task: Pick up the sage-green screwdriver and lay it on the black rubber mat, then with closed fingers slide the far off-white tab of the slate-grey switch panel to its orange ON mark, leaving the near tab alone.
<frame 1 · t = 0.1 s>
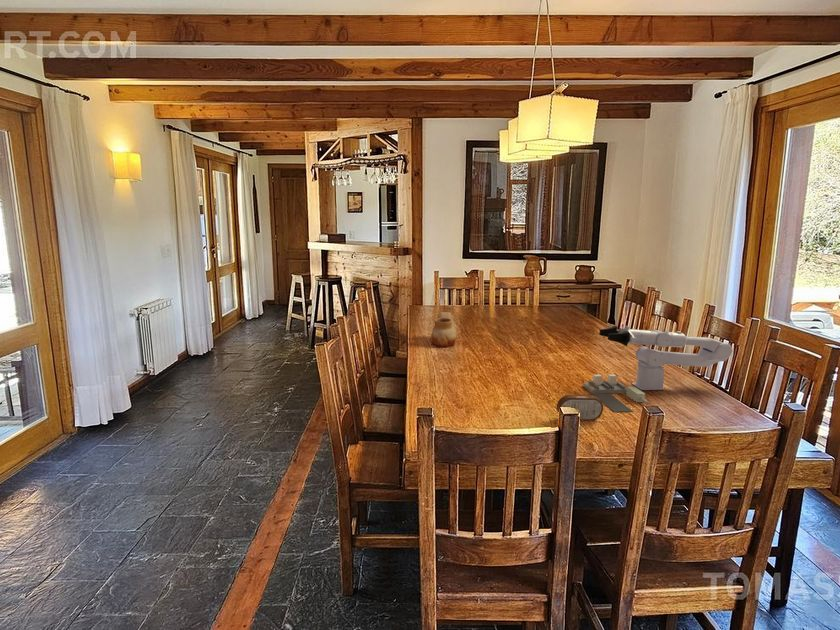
hand: (604, 334, 200), 22 cm above the table, tool horizontal, fingers open, 7 cm apart
tool mat: (611, 402, 188), on the table
tin: (579, 420, 172), on the table
tab far: (597, 379, 203), point 3 cm above the table, slide at 0.0 cm
switch panel: (606, 389, 202), on the table
driver: (635, 399, 193), on the table
tab near: (611, 379, 204), point 3 cm above the table, slide at 0.0 cm
ceramic vessel: (444, 342, 275), on the table
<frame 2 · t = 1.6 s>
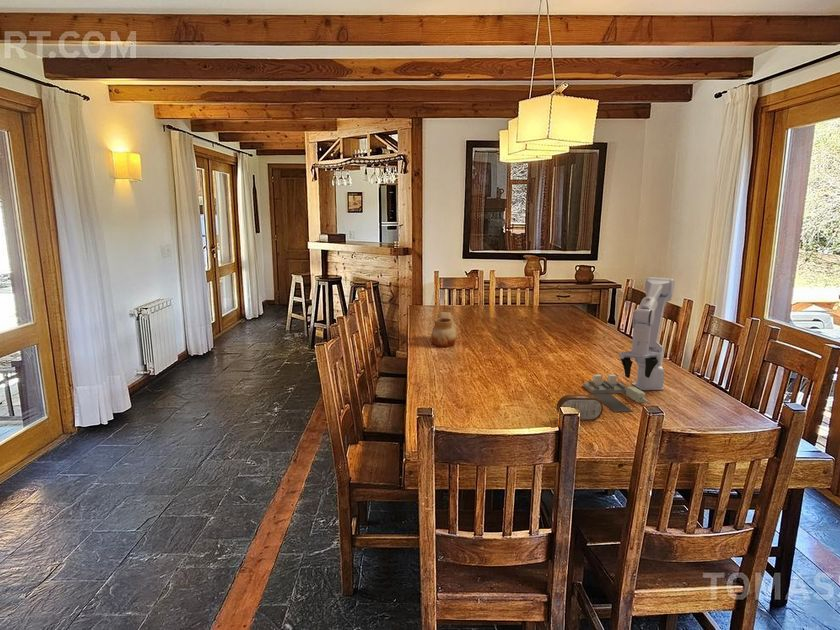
hand: (637, 377, 191), 8 cm above the table, tool pointing down, fingers open, 7 cm apart
nothing on the table moved.
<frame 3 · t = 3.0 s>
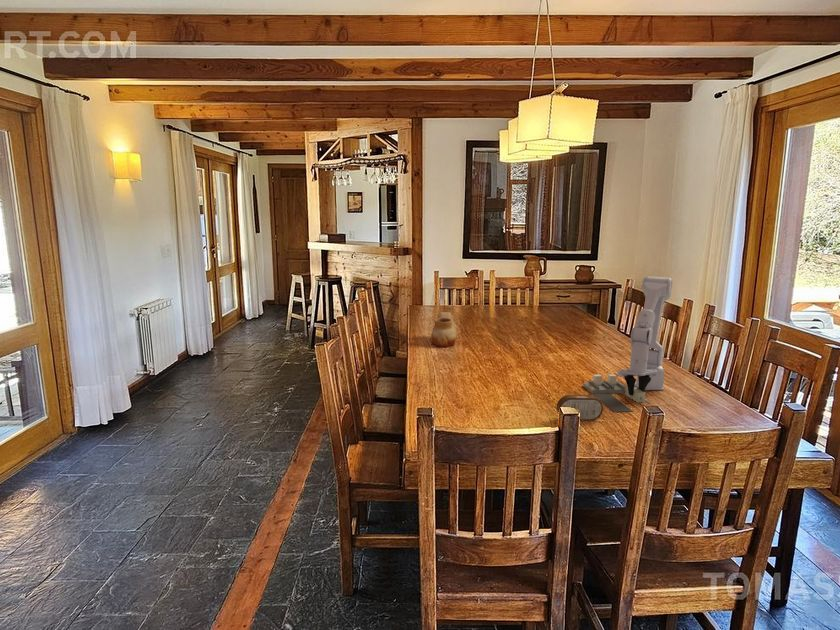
hand: (635, 394, 192), 2 cm above the table, tool pointing down, fingers closed on driver, 3 cm apart
driver: (634, 398, 193), on the table, touching gripper
everything else where it was.
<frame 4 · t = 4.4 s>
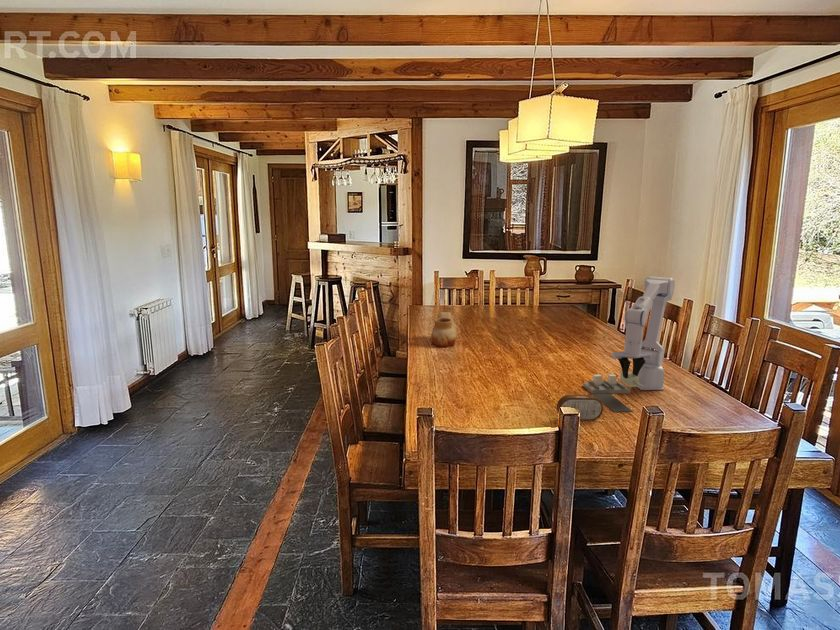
hand: (629, 377, 190), 9 cm above the table, tool pointing down, fingers closed on driver, 3 cm apart
driver: (629, 383, 191), point 6 cm above the table, touching gripper
everything else where it was.
when the fingers open (3 cm above the table, at t = 6.2 s): driver stays where it is, resting on tool mat.
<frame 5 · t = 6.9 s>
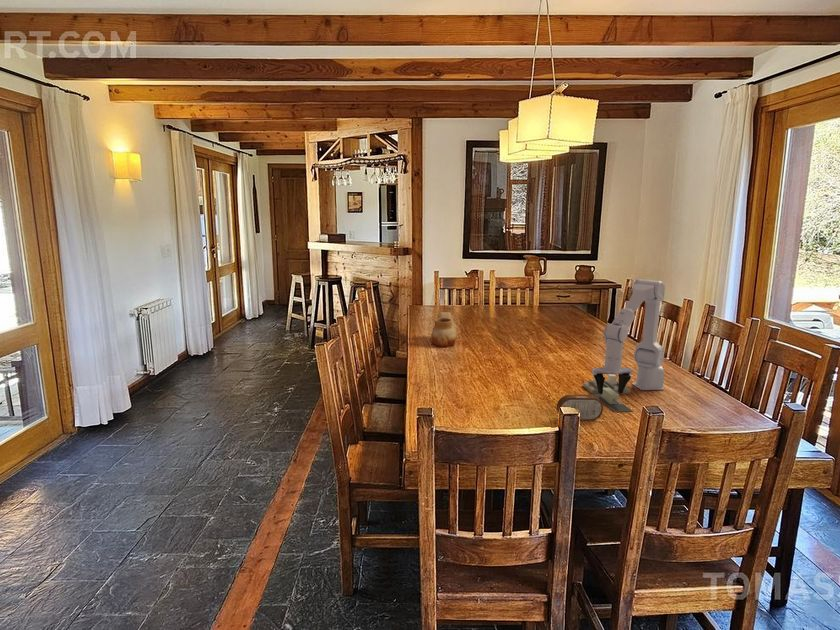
hand: (610, 393, 189), 3 cm above the table, tool pointing down, fingers open, 7 cm apart
driver: (609, 400, 190), resting on tool mat
everything else where it was.
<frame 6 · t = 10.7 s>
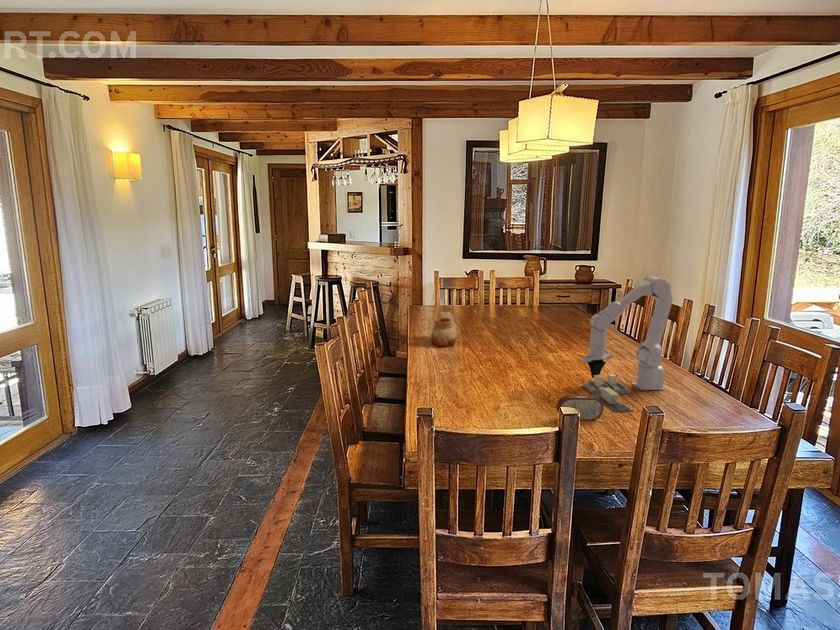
hand: (594, 378, 206), 3 cm above the table, tool pointing down, fingers closed
tab far: (597, 380, 203), point 3 cm above the table, slide at 0.7 cm, touching gripper
everything else where it was.
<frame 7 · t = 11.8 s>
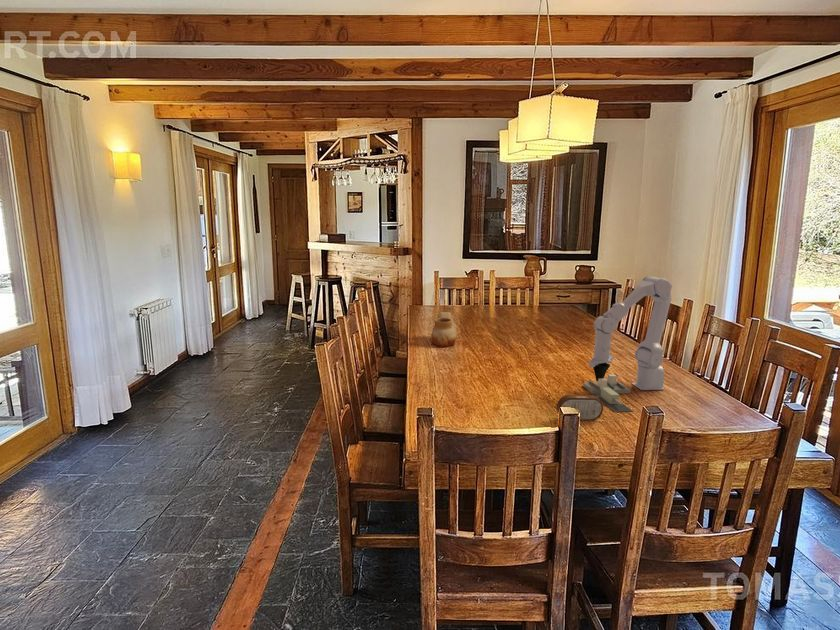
hand: (599, 381, 201), 3 cm above the table, tool pointing down, fingers closed
tab far: (602, 383, 199), point 3 cm above the table, slide at 4.9 cm, touching gripper
everything else where it was.
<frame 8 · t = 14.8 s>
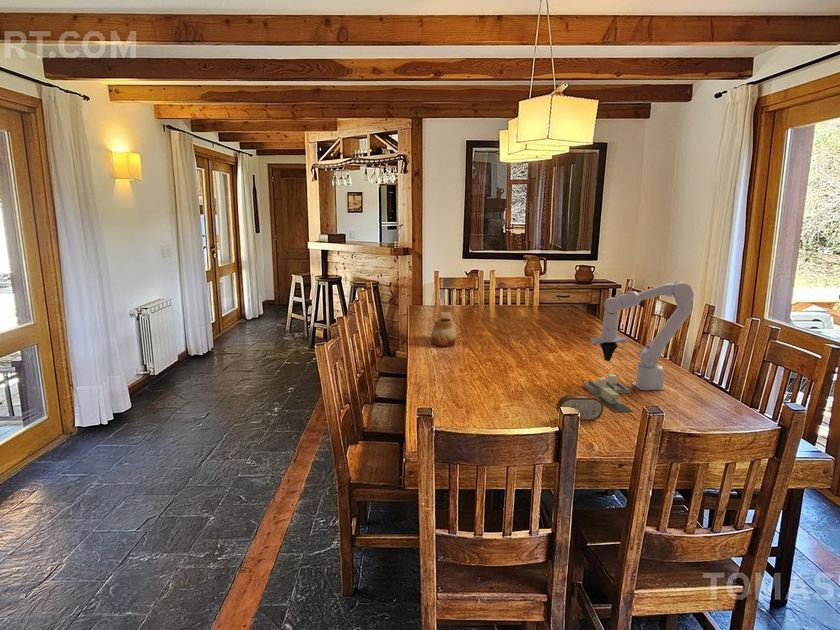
hand: (607, 360, 209), 9 cm above the table, tool pointing down, fingers closed
tab far: (601, 383, 199), point 3 cm above the table, slide at 4.1 cm
everything else where it was.
at the end: tab far slide at 4.1 cm; tab near slide at 0.0 cm; driver 0.2 cm from the target spot on the tool mat, point 0.2 cm above the tool mat's base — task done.
